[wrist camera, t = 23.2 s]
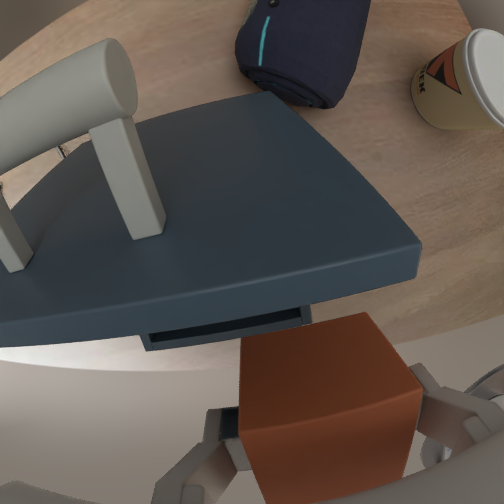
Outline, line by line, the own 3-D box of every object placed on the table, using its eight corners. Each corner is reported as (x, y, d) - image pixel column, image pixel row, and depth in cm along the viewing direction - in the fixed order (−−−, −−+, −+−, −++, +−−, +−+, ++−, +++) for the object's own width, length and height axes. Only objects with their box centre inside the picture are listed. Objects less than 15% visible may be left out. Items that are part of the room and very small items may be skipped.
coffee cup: (421, 45, 25) (482, 7, 13) (476, 97, 26) (544, 83, 15) (391, 100, 27) (457, 71, 15) (451, 154, 28) (526, 153, 16)
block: (366, 400, 12) (402, 479, 7) (262, 423, 12) (268, 511, 7) (366, 310, 11) (424, 387, 6) (240, 336, 11) (237, 433, 6)
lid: (417, 279, 5) (422, -24, 2) (-64, 349, 5) (-140, 234, 3) (271, 101, 19) (258, 34, 16) (85, 153, 19) (65, 94, 16)
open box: (296, 284, 32) (313, 323, 23) (169, 308, 32) (145, 351, 24) (263, 119, 28) (270, 97, 19) (128, 153, 28) (86, 148, 19)
